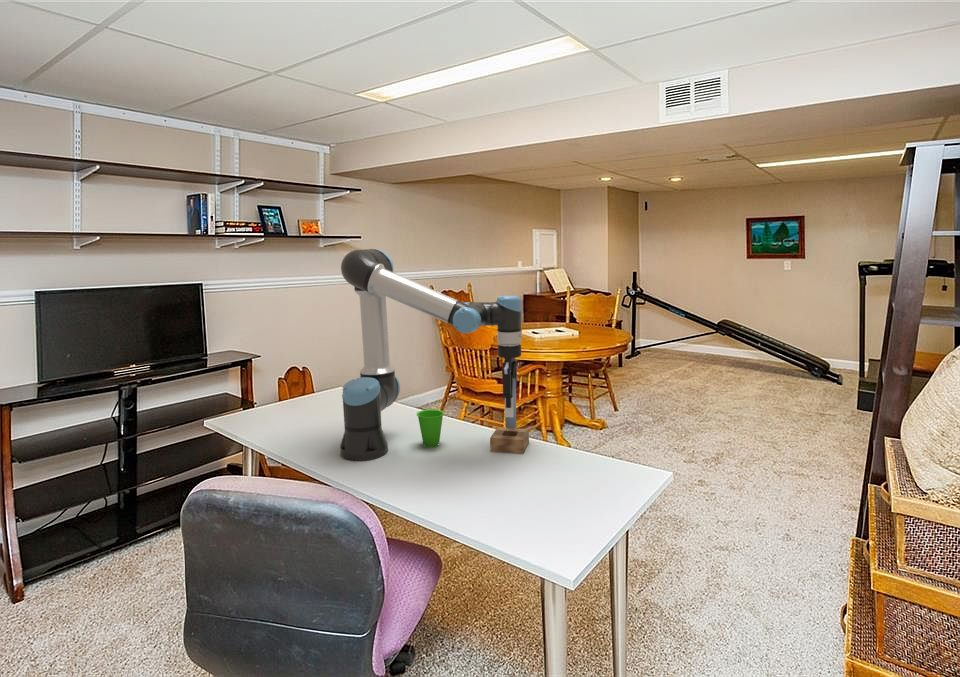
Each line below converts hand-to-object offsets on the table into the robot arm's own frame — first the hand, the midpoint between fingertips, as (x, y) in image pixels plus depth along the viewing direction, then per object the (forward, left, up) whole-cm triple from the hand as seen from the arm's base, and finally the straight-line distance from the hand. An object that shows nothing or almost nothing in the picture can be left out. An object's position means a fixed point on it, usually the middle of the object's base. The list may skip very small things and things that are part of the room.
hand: (510, 414), depth 181 cm
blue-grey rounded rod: (0, 0, -4) cm, 4 cm away
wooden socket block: (0, 0, -11) cm, 11 cm away
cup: (-26, -4, -11) cm, 29 cm away
